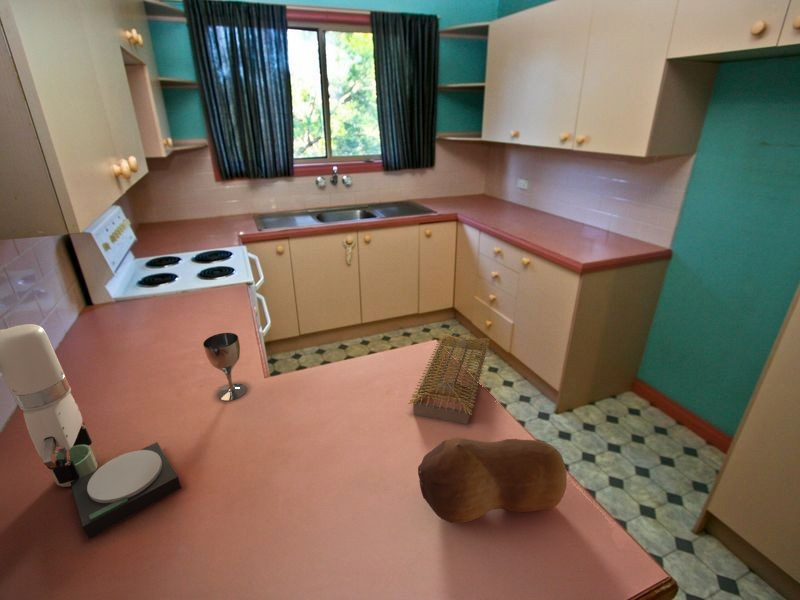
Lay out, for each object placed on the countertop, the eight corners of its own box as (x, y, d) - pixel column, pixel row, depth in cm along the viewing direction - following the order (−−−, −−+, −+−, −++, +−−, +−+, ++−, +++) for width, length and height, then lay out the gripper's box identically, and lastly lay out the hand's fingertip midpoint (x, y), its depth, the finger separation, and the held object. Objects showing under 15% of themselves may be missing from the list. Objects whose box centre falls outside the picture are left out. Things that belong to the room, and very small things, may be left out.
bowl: (52, 493, 80) (43, 475, 79) (62, 468, 86) (54, 450, 84) (94, 481, 83) (86, 463, 81) (101, 457, 89) (94, 440, 87)
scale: (88, 539, 71) (81, 523, 70) (75, 493, 80) (68, 478, 79) (181, 488, 81) (177, 473, 79) (161, 452, 89) (156, 438, 88)
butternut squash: (424, 543, 66) (581, 530, 68) (421, 459, 65) (580, 448, 67) (416, 496, 80) (545, 487, 81) (413, 426, 79) (544, 418, 80)
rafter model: (471, 427, 94) (472, 404, 91) (408, 415, 98) (408, 393, 96) (489, 349, 124) (491, 330, 122) (441, 342, 128) (441, 324, 126)
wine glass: (210, 392, 109) (197, 340, 103) (240, 379, 114) (229, 329, 108) (223, 405, 103) (211, 352, 97) (254, 391, 108) (244, 340, 102)
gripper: (34, 372, 83) (66, 440, 90) (-3, 426, 68) (39, 503, 75) (79, 362, 85) (107, 429, 92) (53, 413, 70) (89, 488, 77)
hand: (77, 462), depth 84 cm, fingers open, 9 cm apart
